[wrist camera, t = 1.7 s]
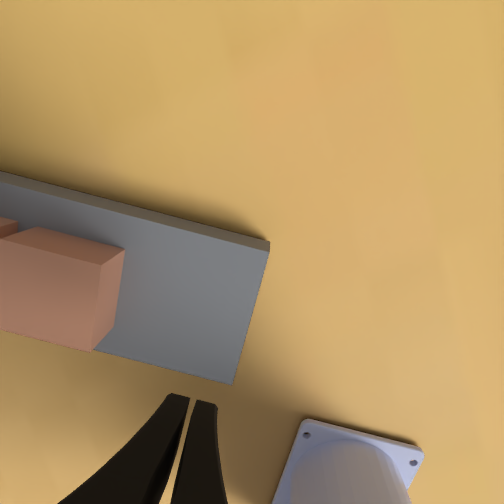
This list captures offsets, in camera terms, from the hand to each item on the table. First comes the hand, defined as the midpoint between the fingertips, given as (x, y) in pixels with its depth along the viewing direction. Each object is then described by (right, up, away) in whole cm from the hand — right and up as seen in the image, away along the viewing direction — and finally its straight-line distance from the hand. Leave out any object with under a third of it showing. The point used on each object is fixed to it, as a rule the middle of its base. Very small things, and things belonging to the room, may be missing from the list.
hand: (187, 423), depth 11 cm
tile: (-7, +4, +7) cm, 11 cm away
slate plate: (-7, +5, +9) cm, 12 cm away
